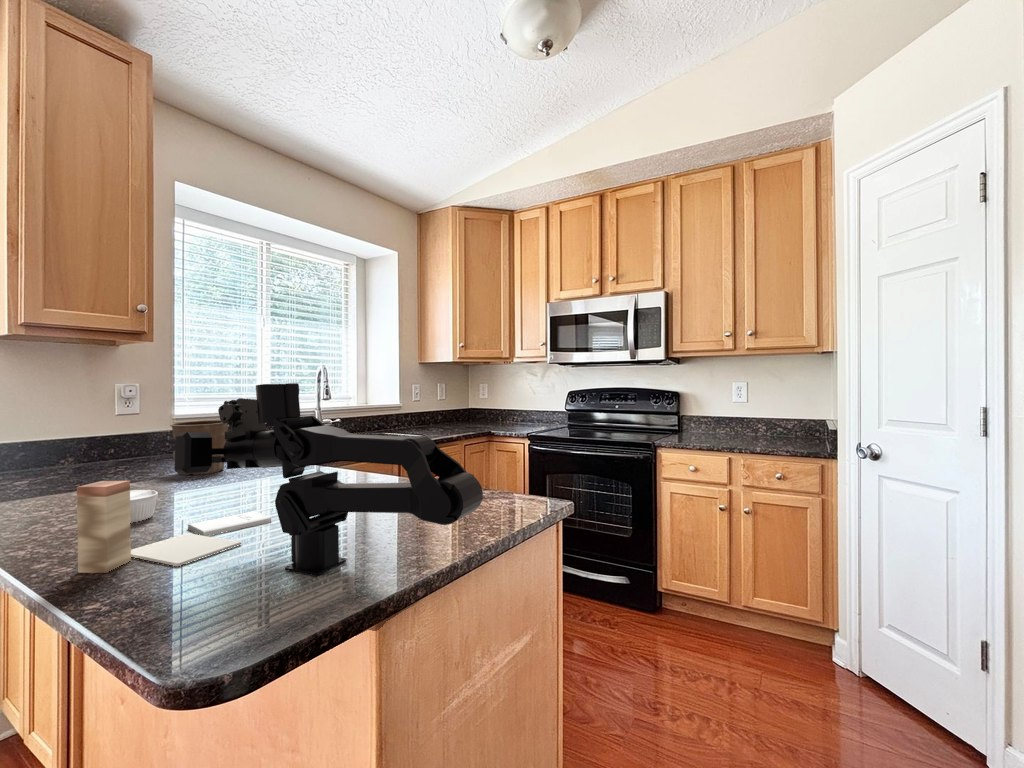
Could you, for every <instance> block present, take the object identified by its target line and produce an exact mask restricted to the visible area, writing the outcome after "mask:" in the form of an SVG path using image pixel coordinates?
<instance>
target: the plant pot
mask: <svg viewBox="0 0 1024 768" xmlns="http://www.w3.org/2000/svg"><path fill="white" fill-rule="evenodd" d="M169 427H171V429H172V436H173V438H175V436H176V435H177V434H179V433H182V432H209V434H210V435H211V437H212V448H224V445H225V443H226V442H227V440H225V432H226V431H229V425H228V424H226V423H222V422H221V420H219V419H218V420H217V419H214V420H212V419H211V420H198V421H197V420H196V421H184V422H183V421H182V422H175V423H174V422H173V423H171V424H169ZM215 456H218V457H219V456H224V455H212V457H215ZM224 470H225V462H221V463H212V466H211V467H210V469H209V470H208V472H199V473H185V474H181V476H190V475H194V476H198V475H210V474H214V473H219V472H220V471H224Z"/></svg>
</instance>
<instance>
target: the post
mask: <svg viewBox="0 0 1024 768" xmlns="http://www.w3.org/2000/svg"><path fill="white" fill-rule="evenodd" d="M130 482H131V480H100V481H97V482H92V483H88V484H83V485H79V486H76V514H77V522H76V523H77V526H76V527H77V573H79V574H82V573H83V574H85V573H89V574H91V573H95V574H97V573H105V574H107V573H110V572H112V571H113V569H114V570H115V568H116V569H118V568H120V567H119V566H121V565H123V564H125V563H127V562H129V561H131V562H132V558H131V550H132V544H131V541H132V540H131V524H130V491H131V483H130ZM129 563H130V562H129ZM127 564H128V563H127ZM125 565H126V564H125ZM123 566H124V565H123ZM117 567H118V568H117ZM121 567H122V566H121ZM111 570H112V571H111ZM109 571H110V572H109Z"/></svg>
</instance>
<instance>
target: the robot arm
mask: <svg viewBox="0 0 1024 768" xmlns="http://www.w3.org/2000/svg"><path fill="white" fill-rule="evenodd" d="M255 394H256V397H255V398H256V399H254V398H253V399H252V398H243V397H240V398H239V397H238V398H237V399H231V400H225V401H224V402H223V404H222V405H221V406H219V407H218V411H217V412H218V416H219V419H220V420H221V422H222V423H226V424H228V429H229V430H228V431H226V432H225V440H226V443H225V445H224V448H212V437H211V435H210V434H209V432H182V433H179V434H177V435H176V436H175V437H174V441H175V442H174V443H175V444H174V451H172V458H173V459H174V471H175V472H176V473H177V475H182V474H185V473H199V472H208V470H209V469H210V467H211V466H212V463H221V462H224V463H226V469H227V470H232V469H234V470H235V469H249V468H250V469H251V468H254V469H255V468H256V469H259V468H262V469H265V468H266V469H267V468H277V467H279V468H280V467H281V469H282V471H281V472H282V477H283V479H288V481H289V482H287V483H282V484H281V485H279V488H278V490H277V492H276V496H275V499H274V503H275V504H274V505H275V506H274V507H275V509H276V513H277V516H278V520H279V524H280V527H281V530H282V533H284V534H288V535H289V537H290V536H291V537H290V541H291V542H290V543H291V544H290V545H291V562H292V563H290V564H288V565H285V566H284V571H287V572H291V573H298V574H303V575H309V576H313V577H315V576H316V577H317V576H319V575H322V574H324V573H326V572H328V571H329V570H332V569H334V568H336V567H338V566H340V565H343V564H344V563H346V562H347V558H346V557H340V553H339V551H340V550H339V549H340V547H339V545H340V543H339V541H340V539H339V537H340V535H339V534H340V533H339V531H340V530H339V525H338V523H340V522H345V521H346V520H347V518H348V514H349V513H370V514H371V513H383V514H385V513H386V514H388V513H391V514H410V515H413V516H414V517H415V518H418V519H419V520H421V521H424V522H427V523H431V524H437V525H442V526H447V525H451V524H454V523H456V522H458V521H459V520H461V519H462V518H464V517H466V516H468V515H469V514H472V513H474V512H475V511H477V510H478V508H480V506H481V504H482V501H483V496H484V494H483V493H484V491H483V488H482V485H481V483H480V481H479V480H478V479H477V477H475V475H474V474H473V473H470V472H467V470H466V469H465V468H464V467H463V466H462V465H461V463H460V462H458V461H457V460H456V459H455V458H453V457H451V456H450V454H448V453H446V452H445V451H443V450H442V449H441V448H440V447H439V446H438V444H437V443H436V442H435V441H434V440H433V439H432V438H430V437H428V436H426V435H419V436H418V435H417V436H400V435H399V436H398V435H378V434H377V435H376V434H355V433H351V432H349V431H347V430H346V429H343V428H340V427H335V426H332V425H326V424H325V423H324V422H322V421H321V420H319V419H318V418H317V417H316V416H315V415H313V414H312V415H301V406H300V385H299V383H298V382H295V383H293V382H292V383H289V382H288V383H263V384H256V385H255ZM268 427H273V429H267V428H268ZM212 455H224V456H219V457H218V456H215V457H212ZM333 462H348V463H349V462H351V463H365V464H366V463H368V464H379V465H380V464H381V465H393V466H401V467H402V468H403V469H404V470H405V471H406V475H407V476H408V480H409V482H373V483H371V482H368V483H367V482H364V483H363V482H362V483H361V482H359V483H356V482H355V483H351V482H350V483H344V482H341V481H340V480H339V479H338V477H339V471H338V470H337V471H333V472H324V471H322V470H320V471H316V472H315V471H314V472H311V473H307V474H304V472H305V470H306V469H305V468H306V467H310V466H316V465H322V464H328V463H333ZM435 476H436V477H435Z"/></svg>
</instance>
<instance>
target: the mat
mask: <svg viewBox="0 0 1024 768" xmlns="http://www.w3.org/2000/svg"><path fill="white" fill-rule="evenodd" d="M240 544H241V545H242V541H236V540H231V539H225V538H219V537H212V536H202V535H198V534H196V533H188V532H187V533H184V534H179V535H178V536H177V535H176V536H174V537H169V538H167V539H163V540H160V541H157V542H152V543H150V544H147V545H142V546H139V547H136V548H131V557H135V558H140V559H144V560H150V561H156V562H161V563H166V564H170V565H174V566H180V565H182V564H186V563H188V562H191V561H194V560H197V559H199V558H202V557H205V556H208V555H211V554H214V553H217V552H220V551H222V550H225V549H228V548H231V547H234V546H237V545H240ZM135 558H134V559H135ZM144 560H143V561H144ZM186 565H187V564H186ZM174 566H173V567H174ZM180 567H181V566H180Z"/></svg>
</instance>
